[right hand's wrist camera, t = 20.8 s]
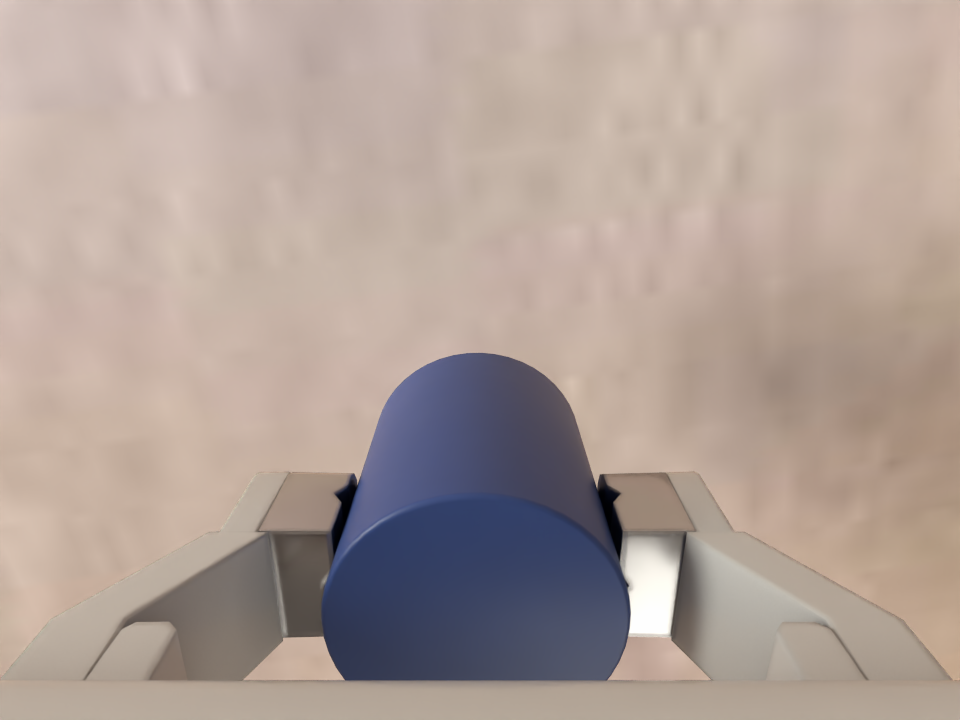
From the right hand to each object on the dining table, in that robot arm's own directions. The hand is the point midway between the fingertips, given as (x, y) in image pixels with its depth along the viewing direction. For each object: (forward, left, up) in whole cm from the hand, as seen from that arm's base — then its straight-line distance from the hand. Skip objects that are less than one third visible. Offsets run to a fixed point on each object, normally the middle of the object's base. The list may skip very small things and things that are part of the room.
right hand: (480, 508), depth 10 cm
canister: (0, 0, -2) cm, 2 cm away
